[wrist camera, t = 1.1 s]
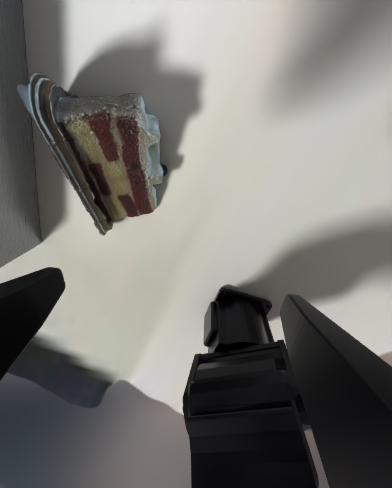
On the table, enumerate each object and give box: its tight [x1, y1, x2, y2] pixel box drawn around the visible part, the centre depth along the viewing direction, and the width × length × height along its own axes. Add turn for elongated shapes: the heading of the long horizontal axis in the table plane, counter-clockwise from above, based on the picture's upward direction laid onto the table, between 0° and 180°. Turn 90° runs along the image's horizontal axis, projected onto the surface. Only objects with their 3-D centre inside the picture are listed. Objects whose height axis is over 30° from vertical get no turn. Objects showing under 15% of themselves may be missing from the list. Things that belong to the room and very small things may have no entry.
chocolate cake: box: [16, 73, 167, 236], centre depth 16 cm, size 10×7×12 cm
